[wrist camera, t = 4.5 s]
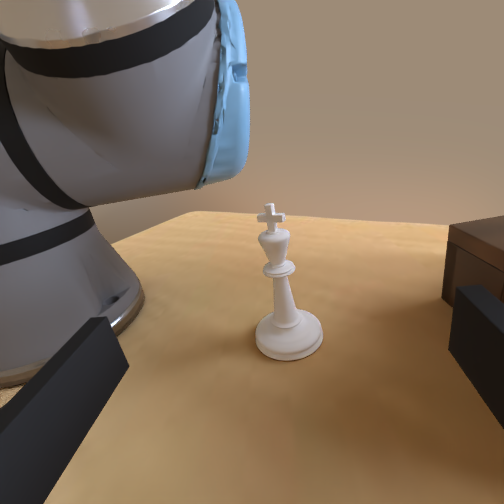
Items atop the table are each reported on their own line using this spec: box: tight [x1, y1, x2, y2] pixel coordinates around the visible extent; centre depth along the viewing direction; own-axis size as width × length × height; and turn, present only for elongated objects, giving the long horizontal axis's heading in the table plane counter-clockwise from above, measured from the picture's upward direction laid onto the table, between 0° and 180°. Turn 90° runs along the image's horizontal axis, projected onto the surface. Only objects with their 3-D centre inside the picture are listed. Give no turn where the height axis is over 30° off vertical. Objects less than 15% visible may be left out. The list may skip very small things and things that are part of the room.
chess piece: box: [255, 203, 323, 361], centre depth 20 cm, size 5×5×10 cm
